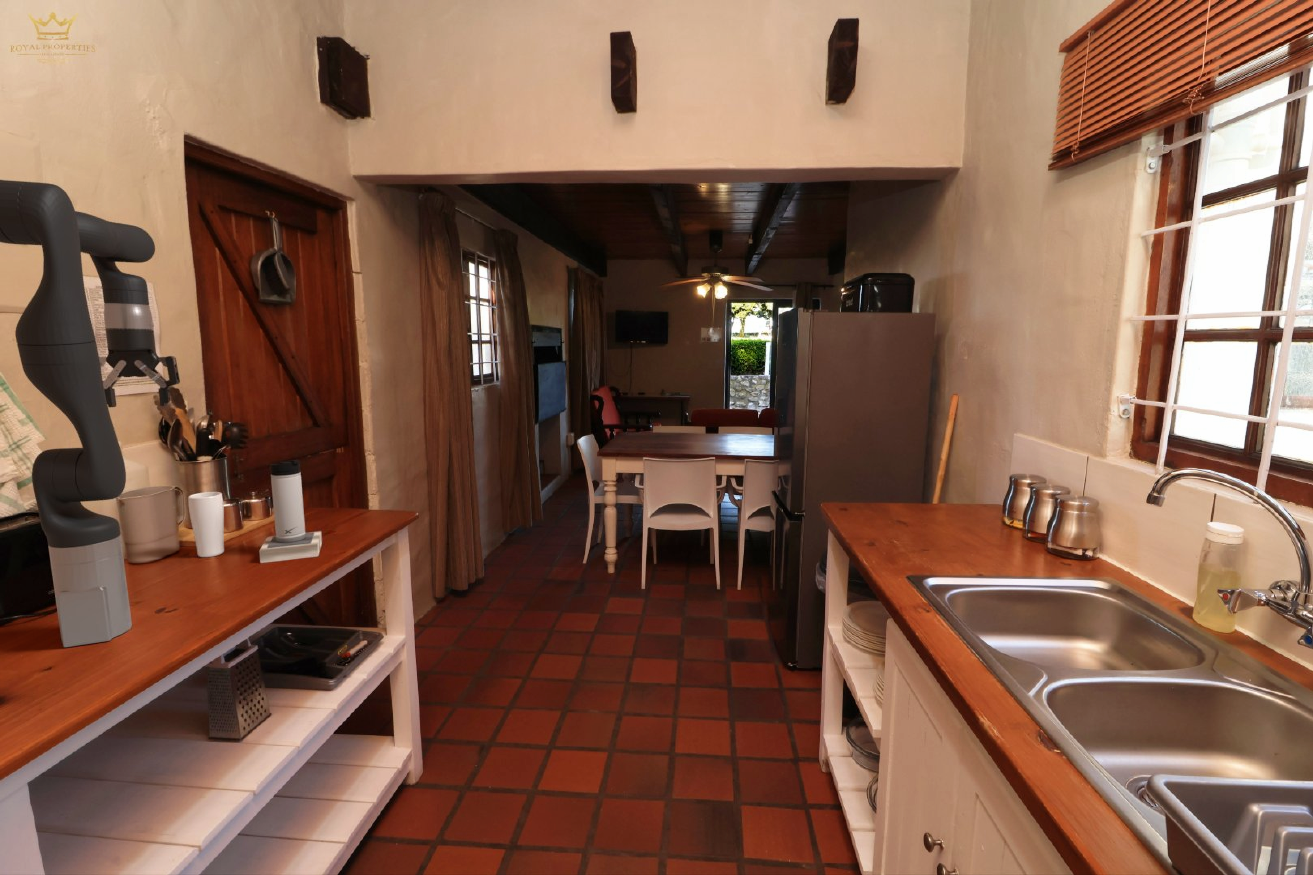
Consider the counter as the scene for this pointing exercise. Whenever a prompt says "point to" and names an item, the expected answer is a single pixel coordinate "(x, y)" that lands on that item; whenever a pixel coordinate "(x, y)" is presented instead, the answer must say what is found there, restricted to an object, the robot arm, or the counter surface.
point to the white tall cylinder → (207, 522)
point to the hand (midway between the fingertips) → (138, 406)
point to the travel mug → (288, 501)
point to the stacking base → (291, 548)
